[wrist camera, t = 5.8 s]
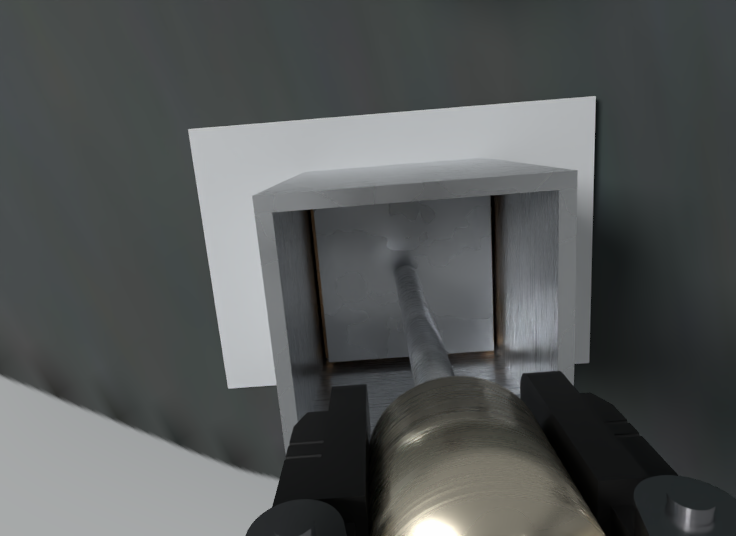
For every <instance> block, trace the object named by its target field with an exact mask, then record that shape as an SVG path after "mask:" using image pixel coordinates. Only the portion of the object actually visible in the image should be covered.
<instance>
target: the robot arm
mask: <svg viewBox="0 0 736 536" xmlns="http://www.w3.org/2000/svg"><path fill="white" fill-rule="evenodd" d="M520 399H521V400H522V401H523V402H524V403H525V404H526V406H527V407H528V408H529V409H530V411H531V412H532V414H533V415H534V417H535V419H536V420H537V422H538V424H539V425H540V427H541V429H542V430H543V432H544V434H545V435H546V437H547V439H548V440H549V442H550V444H551V445H552V447H553V449H554V450H555V452H556V454H557V455H558V457H559V459H560V460H561V462H562V464H563V465H564V467H565V469H566V470H567V472H568V474H569V475H570V477H571V479H572V480H573V482H574V484H575V485H576V487H577V489H578V490H579V492H580V493H581V495H582V497H583V498H584V500H585V502H586V503H587V505H588V507H589V508H590V510H591V512H592V513H593V515H594V517H595V518H596V520H597V522H598V523H599V525H600V527H601V528H602V530H603V532H604V533H605V535H606V536H736V499H735V498H734V497H733V496H731V495H730V494H728V493H727V492H725V491H723V490H721V489H720V488H718V487H715V486H713V485H711V484H708V483H706V482H703V481H700V480H696V479H693V478H688V477H683V476H678V475H677V473H676V472H675V471H674V470H673V469H672V468H671V467H670V466H669V465H668V464H667V463H666V462H665V461H664V459H663V458H662V457H661V456H660V455H659V454H658V453H657V452H656V451H655V450H654V449H653V448H652V446H651V445H650V444H649V443H648V442H647V441H646V440H645V439H644V438H643V437H642V436H639V432H638V431H637V430H636V429H635V428H634V427H633V426H632V425H631V424H630V423H627V420H626V418H625V417H624V416H623V415H622V414H621V413H620V412H619V411H618V410H617V409H616V408H615V407H614V406H613V405H612V404H610V403H609V402H607V401H605V400H603V399H601V398H599V397H598V396H596V395H594V394H592V393H579V392H578V391H577V390H576V388H575V387H574V386H573V385H572V384H571V382H570V381H569V380H568V379H567V378H566V376H565V375H564V374H563V373H562V372H561V371H548V372H533V373H523V374H522V376H521V380H520ZM370 439H371V424H370V413H369V401H368V390H367V384H360V385H346V386H332V389H331V395H330V402H329V408H328V411H317V412H307V413H306V414H305V415H304V416H303V417H302V418H301V419H300V420H299V421H298V422H297V424H296V425H295V426H294V427H293V430H292V434H291V438H290V442H289V446H288V449H287V453H286V460H285V461H284V465H283V468H282V472H281V476H280V480H279V484H278V487H277V491H276V495H275V499H274V503H273V506H272V508H270V509H269V510H267V511H266V512H264V513H263V514H262V515H260V516H259V517H258V518H257V519H256V520H255V521H254V522H253V523H252V525H251V526H250V528H249V529H248V531H247V534H246V536H369V443H370Z"/></svg>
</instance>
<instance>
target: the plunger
mask: <svg viewBox="0 0 736 536" xmlns="http://www.w3.org/2000/svg"><path fill="white" fill-rule="evenodd" d="M313 210H314V220H315V230H316V240H317V249H318V259H319V269H320V278H321V288H322V298H323V307H324V317H325V327H326V337H327V346H328V356H329V362H340V361H354V360H368V359H382V358H395V357H409V359H410V364H411V369H412V375H413V380H414V386H415V387H413V388H411V389H409V390H407V391H406V392H405V393H403V394H402V395H400V396H399V397H398V398H397V399H395V400H394V401H393V402H392V403H391V404H390V405H389V406H388V407H387V409H386V410H385V411H384V412H383V413H382V415H381V417H380V418H379V420H378V421H377V423H376V425H375V428H374V430H373V432H372V436H371V439H370V443H369V536H606V535H605V533H604V532H603V530H602V528H601V527H600V525H599V523H598V522H597V520H596V518H595V517H594V515H593V513H592V512H591V510H590V508H589V507H588V505H587V503H586V502H585V500H584V498H583V497H582V495H581V493H580V492H579V490H578V489H577V487H576V485H575V484H574V482H573V480H572V479H571V477H570V475H569V474H568V472H567V470H566V469H565V467H564V465H563V464H562V462H561V460H560V459H559V457H558V455H557V454H556V452H555V450H554V449H553V447H552V445H551V444H550V442H549V440H548V439H547V437H546V435H545V434H544V432H543V430H542V429H541V427H540V425H539V424H538V422H537V420H536V419H535V417H534V415H533V414H532V412H531V411H530V409H529V408H528V407H527V406H526V404H525V403H524V402H523V401H522V400H521V399H520V398H519V397H518V396H516V395H515V394H514V393H512V392H511V391H509V390H508V389H506V388H504V387H502V386H501V385H499V384H496V383H494V382H491V381H488V380H485V379H481V378H476V377H468V376H455V374H454V372H453V369H452V366H451V363H450V361H449V358H448V355H447V354H451V353H465V352H479V351H493V350H494V341H493V297H492V252H491V207H490V195H489V196H476V197H463V198H450V199H438V200H425V201H412V202H399V203H386V204H373V205H361V206H348V207H335V208H322V209H313Z"/></svg>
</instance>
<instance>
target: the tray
mask: <svg viewBox="0 0 736 536" xmlns="http://www.w3.org/2000/svg"><path fill="white" fill-rule="evenodd" d="M595 108H596V96H591V97H578V98H566V99H554V100H541V101H529V102H517V103H505V104H492V105H480V106H468V107H455V108H443V109H431V110H418V111H406V112H394V113H382V114H369V115H357V116H345V117H332V118H320V119H308V120H295V121H283V122H271V123H259V124H246V125H234V126H222V127H209V128H197V129H188V132H189V138H190V144H191V151H192V157H193V164H194V170H195V177H196V183H197V190H198V196H199V203H200V209H201V216H202V222H203V229H204V235H205V242H206V248H207V255H208V261H209V267H210V274H211V280H212V287H213V293H214V300H215V306H216V313H217V319H218V326H219V332H220V339H221V345H222V352H223V358H224V365H225V371H226V378H227V384H228V389H229V388H243V387H257V386H271V385H277V384H276V376H275V368H274V361H273V353H272V345H271V337H270V330H269V322H268V314H267V307H266V299H265V291H264V284H263V276H262V268H261V261H260V253H259V245H258V238H257V230H256V222H255V215H254V207H253V199H252V196H253V195H255V194H257V193H259V192H262V191H264V190H266V189H268V188H270V187H272V186H275V185H277V184H279V183H281V182H283V181H285V180H288V179H290V178H292V177H294V176H296V175H298V174H301V173H303V172H307V171H320V170H333V169H345V168H358V167H370V166H383V165H396V164H408V163H421V162H433V161H446V160H459V159H471V158H491V159H498V160H506V161H513V162H520V163H528V164H535V165H542V166H550V167H557V168H564V169H571V170H578V174H577V233H576V291H575V350H574V364H581V363H589V354H590V313H591V272H592V231H593V190H594V149H595Z"/></svg>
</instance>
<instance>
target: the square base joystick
mask: <svg viewBox="0 0 736 536" xmlns="http://www.w3.org/2000/svg"><path fill="white" fill-rule="evenodd" d="M577 174H578V170H571V169H564V168H557V167H550V166H542V165H535V164H528V163H520V162H513V161H506V160H498V159H491V158H471V159H459V160H446V161H433V162H421V163H408V164H396V165H383V166H370V167H358V168H345V169H333V170H320V171H307V172H303V173H301V174H298V175H296V176H294V177H292V178H290V179H288V180H285V181H283V182H281V183H279V184H277V185H275V186H272V187H270V188H268V189H266V190H264V191H262V192H259V193H257V194H255V195H253V196H252V199H253V207H254V215H255V222H256V230H257V238H258V245H259V253H260V261H261V268H262V276H263V284H264V291H265V299H266V307H267V314H268V322H269V330H270V337H271V345H272V353H273V361H274V368H275V376H276V384H277V391H278V399H279V407H280V414H281V422H282V430H283V437H284V445H285V453H287V449H288V446H289V442H290V438H291V434H292V430H293V427H294V426H295V425H296V424H297V422H298V421H299V420H300V419H301V418H302V417H303V416H304V415H305V414H306V413H307V412H317V411H328V408H329V402H330V395H331V389H332V386H346V385H360V384H367V390H368V401H369V413H370V424H371V436H372V432H373V430H374V428H375V425H376V423H377V421H378V420H379V418H380V417H381V415H382V413H383V412H384V411H385V410H386V409H387V407H388V406H389V405H390V404H391V403H392V402H393V401H394V400H395V399H397V398H398V397H399V396H400V395H402V394H403V393H405V392H406V391H407V390H409V389H411V388H413V387H415V386H414V380H413V375H412V369H411V364H410V359H409V357H395V358H382V359H368V360H354V361H340V362H329V356H328V346H327V337H326V327H325V317H324V307H323V298H322V288H321V278H320V269H319V259H318V249H317V240H316V230H315V220H314V210H313V209H322V208H335V207H348V206H361V205H373V204H386V203H399V202H412V201H425V200H438V199H450V198H463V197H476V196H489V195H490V207H491V252H492V297H493V341H494V350H493V351H479V352H465V353H451V354H447V355H448V358H449V361H450V363H451V366H452V369H453V372H454V374H455V376H468V377H476V378H481V379H485V380H488V381H491V382H494V383H496V384H499V385H501V386H502V387H504V388H506V389H508V390H509V391H511V392H512V393H514V394H515V395H516V396H518V397H519V398H520V380H521V376H522V374H523V373H533V372H548V371H561V372H562V373H563V374H564V375H565V376H566V378H567V379H568V380H569V381H570V382H571V384H572V385H573V386H574V350H575V291H576V233H577Z"/></svg>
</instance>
